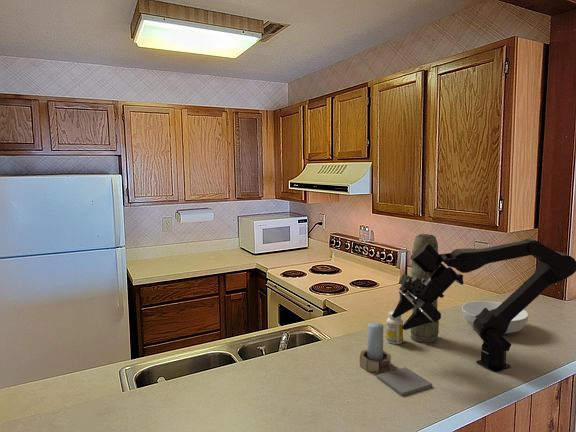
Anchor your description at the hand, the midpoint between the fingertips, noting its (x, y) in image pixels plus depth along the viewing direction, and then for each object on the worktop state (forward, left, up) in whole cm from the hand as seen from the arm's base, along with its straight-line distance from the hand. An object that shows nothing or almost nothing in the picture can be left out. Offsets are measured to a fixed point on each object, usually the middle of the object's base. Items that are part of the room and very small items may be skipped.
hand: (397, 322), depth 113 cm
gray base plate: (+5, +9, -12) cm, 16 cm away
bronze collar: (+6, -2, -12) cm, 14 cm away
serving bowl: (-48, -6, -13) cm, 50 cm away
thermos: (-20, -10, -13) cm, 26 cm away
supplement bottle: (-10, -13, -13) cm, 21 cm away
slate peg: (+6, -2, -12) cm, 14 cm away
